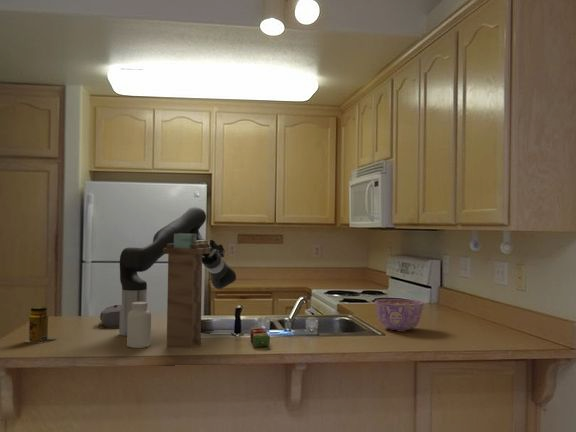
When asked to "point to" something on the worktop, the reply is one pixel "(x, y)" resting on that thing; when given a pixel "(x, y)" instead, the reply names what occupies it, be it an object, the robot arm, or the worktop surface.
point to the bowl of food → (399, 313)
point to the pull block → (186, 240)
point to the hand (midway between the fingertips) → (200, 241)
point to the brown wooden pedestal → (184, 295)
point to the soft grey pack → (111, 316)
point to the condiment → (38, 325)
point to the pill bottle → (139, 326)
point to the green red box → (259, 337)
